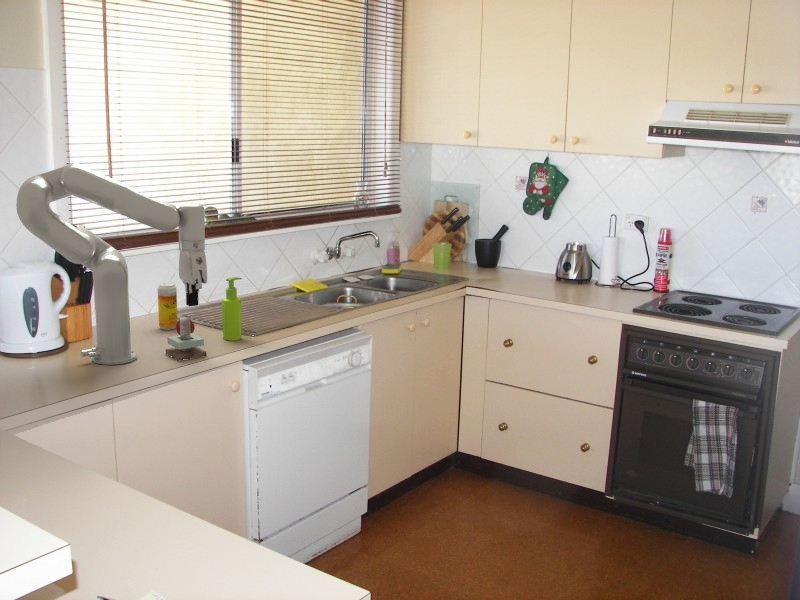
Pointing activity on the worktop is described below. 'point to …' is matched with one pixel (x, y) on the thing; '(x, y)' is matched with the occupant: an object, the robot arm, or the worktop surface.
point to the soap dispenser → (231, 312)
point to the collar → (185, 342)
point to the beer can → (167, 306)
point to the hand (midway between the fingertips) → (192, 305)
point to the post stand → (185, 335)
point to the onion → (190, 326)
